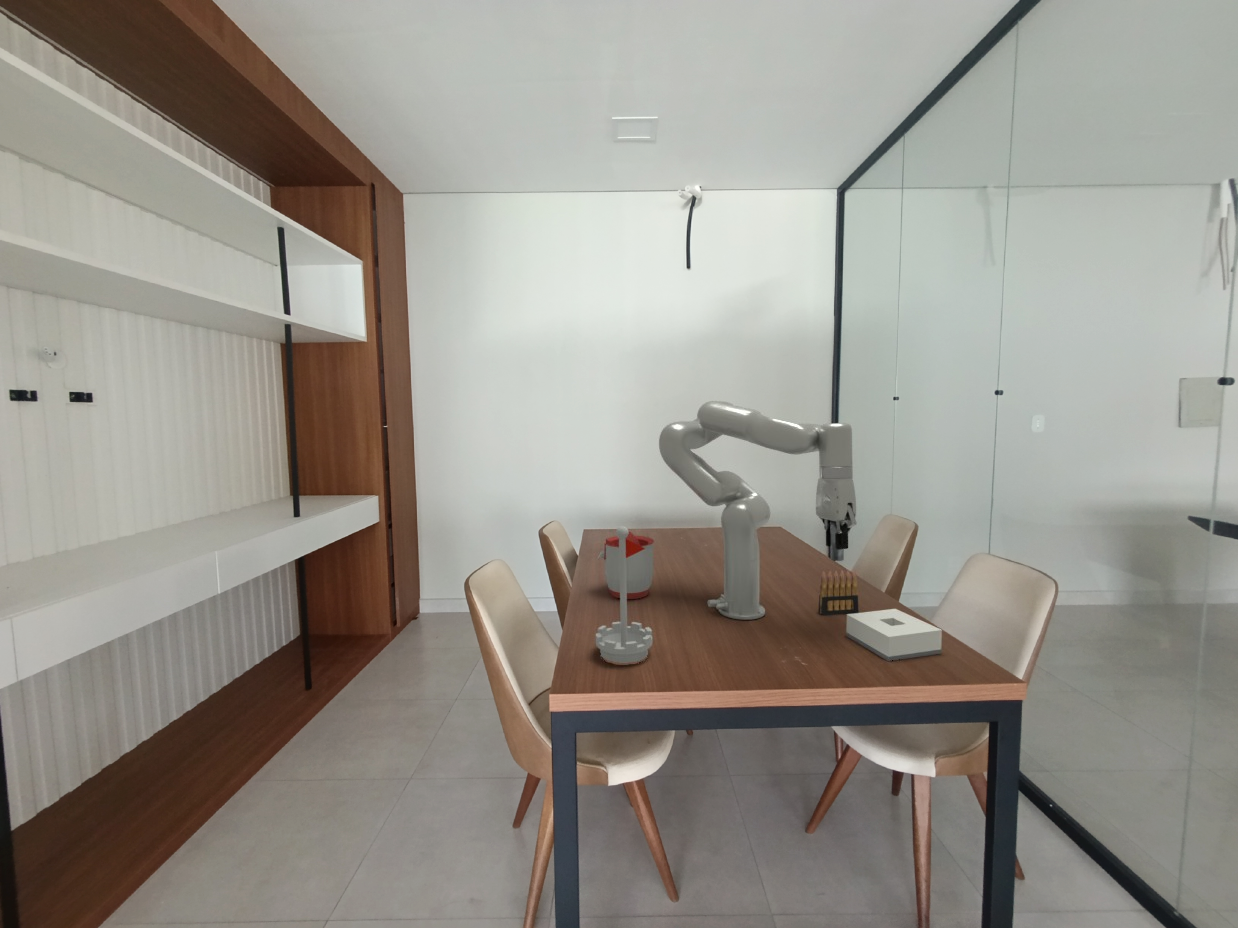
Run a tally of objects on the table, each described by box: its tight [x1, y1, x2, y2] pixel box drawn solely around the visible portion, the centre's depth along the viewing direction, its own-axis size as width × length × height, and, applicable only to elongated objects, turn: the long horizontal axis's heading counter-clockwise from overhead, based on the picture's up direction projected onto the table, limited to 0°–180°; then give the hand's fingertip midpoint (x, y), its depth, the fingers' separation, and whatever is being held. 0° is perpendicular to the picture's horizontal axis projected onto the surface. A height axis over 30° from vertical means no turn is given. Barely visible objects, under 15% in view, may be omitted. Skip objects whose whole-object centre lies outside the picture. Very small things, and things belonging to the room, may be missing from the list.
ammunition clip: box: [818, 569, 860, 616], centre depth 143 cm, size 11×2×12 cm, turn 96°
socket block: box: [846, 608, 943, 662], centre depth 123 cm, size 14×14×6 cm
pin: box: [829, 519, 845, 562], centre depth 129 cm, size 3×3×10 cm
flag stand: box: [595, 525, 653, 663], centre depth 119 cm, size 13×13×30 cm
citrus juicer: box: [597, 530, 655, 600], centre depth 162 cm, size 16×17×20 cm
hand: (837, 546), depth 129 cm, fingers closed on pin, 3 cm apart
